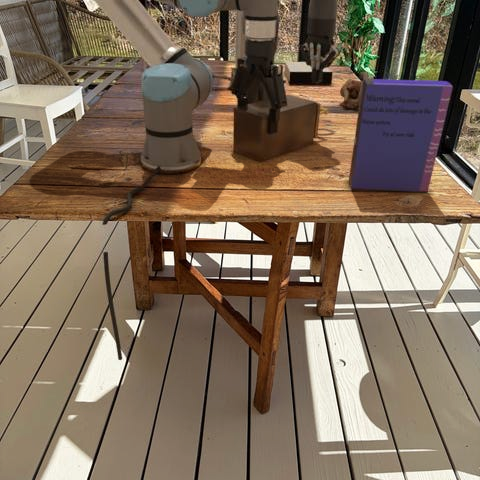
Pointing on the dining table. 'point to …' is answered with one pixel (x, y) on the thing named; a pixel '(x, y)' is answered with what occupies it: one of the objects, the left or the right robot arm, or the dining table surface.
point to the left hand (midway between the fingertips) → (257, 127)
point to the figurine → (230, 77)
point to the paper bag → (239, 38)
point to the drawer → (318, 112)
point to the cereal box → (398, 134)
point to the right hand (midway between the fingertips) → (316, 82)
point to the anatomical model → (352, 91)
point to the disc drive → (304, 73)
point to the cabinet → (289, 128)
